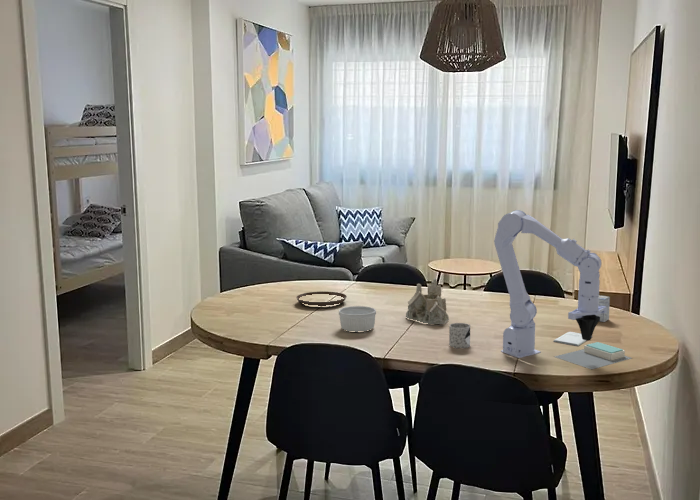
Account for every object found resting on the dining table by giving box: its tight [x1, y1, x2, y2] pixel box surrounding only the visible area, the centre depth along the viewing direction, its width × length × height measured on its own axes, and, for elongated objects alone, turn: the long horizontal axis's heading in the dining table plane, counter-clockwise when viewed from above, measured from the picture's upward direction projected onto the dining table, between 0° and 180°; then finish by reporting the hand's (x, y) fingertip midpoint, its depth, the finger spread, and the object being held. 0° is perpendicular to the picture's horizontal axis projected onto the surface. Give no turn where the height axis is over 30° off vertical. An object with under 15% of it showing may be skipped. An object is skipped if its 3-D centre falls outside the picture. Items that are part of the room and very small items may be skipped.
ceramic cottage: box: [405, 278, 450, 325], centre depth 251 cm, size 16×16×15 cm
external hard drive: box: [552, 331, 593, 347], centre depth 224 cm, size 2×8×12 cm
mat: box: [553, 348, 633, 371], centre depth 205 cm, size 18×14×1 cm
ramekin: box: [338, 305, 377, 332], centre depth 241 cm, size 13×13×7 cm
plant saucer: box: [296, 290, 347, 306], centre depth 280 cm, size 21×21×3 cm
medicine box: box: [596, 294, 611, 323], centre depth 248 cm, size 8×4×9 cm, turn 47°
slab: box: [583, 341, 626, 360], centre depth 208 cm, size 2×10×6 cm
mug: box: [448, 322, 471, 349], centre depth 222 cm, size 10×7×7 cm
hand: (586, 339), depth 203 cm, fingers closed
